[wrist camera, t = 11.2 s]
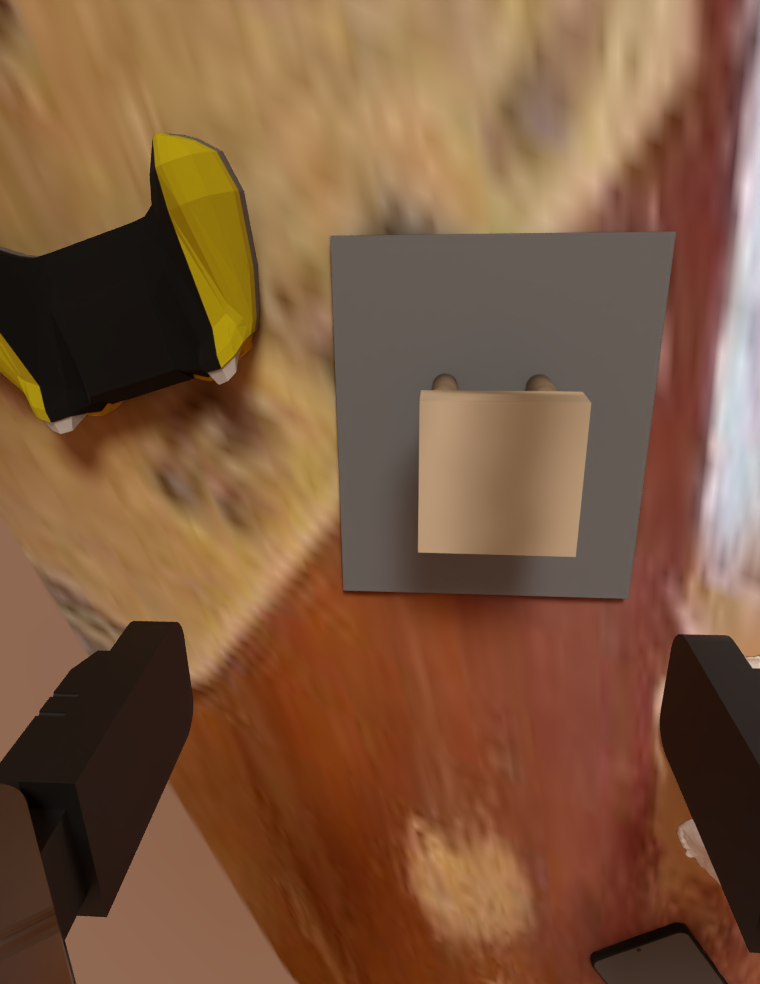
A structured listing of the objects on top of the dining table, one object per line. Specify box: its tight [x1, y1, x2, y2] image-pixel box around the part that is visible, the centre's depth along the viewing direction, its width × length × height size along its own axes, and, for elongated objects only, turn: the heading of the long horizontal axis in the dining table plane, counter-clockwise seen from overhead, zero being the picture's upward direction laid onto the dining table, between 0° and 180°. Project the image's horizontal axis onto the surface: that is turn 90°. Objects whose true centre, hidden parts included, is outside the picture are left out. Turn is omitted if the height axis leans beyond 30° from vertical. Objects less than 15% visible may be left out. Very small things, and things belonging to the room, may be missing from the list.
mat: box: [330, 232, 676, 599], centre depth 35 cm, size 18×15×1 cm
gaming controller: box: [0, 132, 260, 434], centre depth 32 cm, size 15×6×10 cm
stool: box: [418, 373, 591, 557], centre depth 31 cm, size 6×6×7 cm
